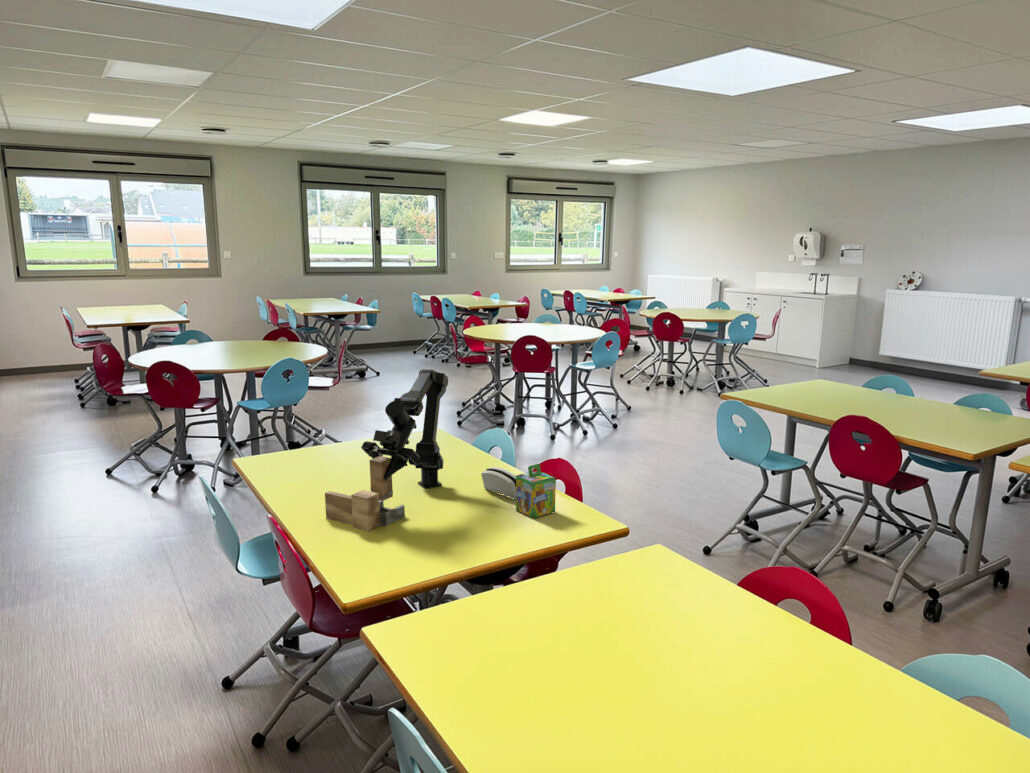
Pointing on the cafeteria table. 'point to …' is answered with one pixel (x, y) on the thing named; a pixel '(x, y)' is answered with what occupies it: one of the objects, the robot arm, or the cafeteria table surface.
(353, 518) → the wooden fixture with frame
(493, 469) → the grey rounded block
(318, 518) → the cafeteria table surface
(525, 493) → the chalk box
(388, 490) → the wooden block
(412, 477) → the cafeteria table surface
